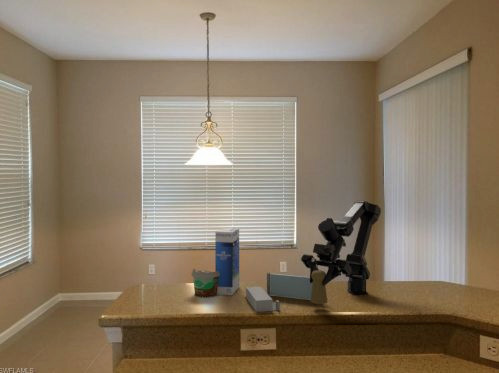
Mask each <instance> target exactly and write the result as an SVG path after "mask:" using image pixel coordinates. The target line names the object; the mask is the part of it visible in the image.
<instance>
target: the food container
mask: <svg viewBox="0 0 499 373" xmlns="http://www.w3.org/2000/svg"><path fill="white" fill-rule="evenodd" d="M218 276H220V273H219V271H216V272H215V271H210V270H196V269H195V268H193V269H192V272H191V277H192V278H193V289H194V296H196V297H198V298H212V297H215V296H218V294H217V287H218Z"/></svg>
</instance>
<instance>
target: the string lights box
mask: <svg viewBox="0 0 499 373" xmlns="http://www.w3.org/2000/svg"><path fill="white" fill-rule="evenodd" d="M214 232H215V238H214V239H215V241H214V242H215V246H214V247H215V249H214V250H215V254H214V255H215V258H214V260H215V261H214V262H215V263H214V264H215V268H214V269H215V271H214V272H216V271H219V273H220V276H218V287H217V296H218V295H220V296H233V295H234V294H235V293H236V291H237V290H238V289H239V288H240V228H237V227H236V228H235V227H222V228H221V229H219V230H216V231H214Z"/></svg>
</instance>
